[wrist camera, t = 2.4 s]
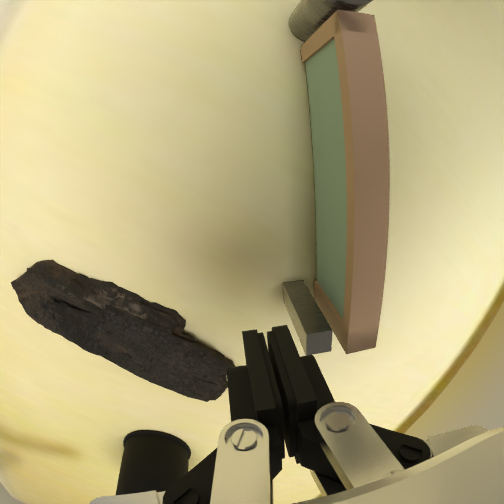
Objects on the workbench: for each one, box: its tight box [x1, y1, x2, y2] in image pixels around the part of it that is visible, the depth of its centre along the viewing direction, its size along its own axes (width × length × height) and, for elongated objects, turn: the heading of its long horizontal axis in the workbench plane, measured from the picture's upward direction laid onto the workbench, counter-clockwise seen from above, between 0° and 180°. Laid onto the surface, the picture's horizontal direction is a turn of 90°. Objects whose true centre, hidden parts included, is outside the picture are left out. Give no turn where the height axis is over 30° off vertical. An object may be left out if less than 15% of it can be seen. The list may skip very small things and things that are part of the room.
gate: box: [300, 10, 389, 354], centre depth 18 cm, size 2×19×7 cm, turn 5°
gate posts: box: [283, 0, 373, 356], centre depth 16 cm, size 3×23×9 cm, turn 179°
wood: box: [11, 260, 235, 402], centre depth 23 cm, size 22×7×3 cm, turn 57°
